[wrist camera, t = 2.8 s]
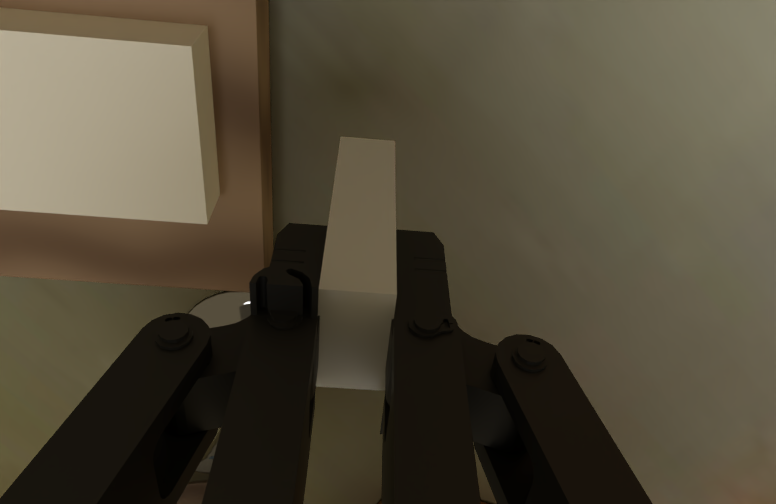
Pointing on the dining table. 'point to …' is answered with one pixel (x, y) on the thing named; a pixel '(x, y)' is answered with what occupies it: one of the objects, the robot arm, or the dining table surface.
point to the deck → (235, 168)
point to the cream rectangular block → (106, 117)
